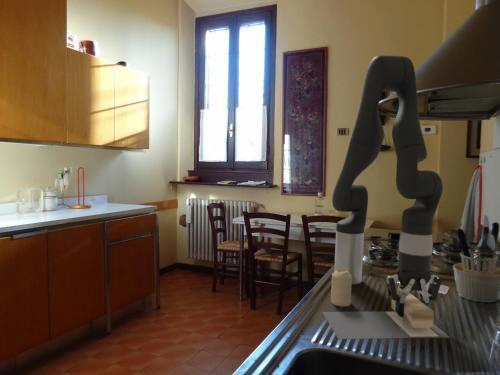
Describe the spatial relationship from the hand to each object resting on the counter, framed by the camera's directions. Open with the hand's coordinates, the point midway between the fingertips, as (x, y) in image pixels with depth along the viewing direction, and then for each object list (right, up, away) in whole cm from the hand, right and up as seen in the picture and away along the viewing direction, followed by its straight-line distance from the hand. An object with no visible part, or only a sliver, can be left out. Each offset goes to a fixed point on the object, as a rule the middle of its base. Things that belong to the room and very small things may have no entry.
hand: (410, 315), depth 89 cm
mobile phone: (+17, -1, +29) cm, 34 cm away
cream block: (0, 0, 0) cm, 0 cm away
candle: (-15, -1, +12) cm, 19 cm away
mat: (-8, -3, 0) cm, 8 cm away
